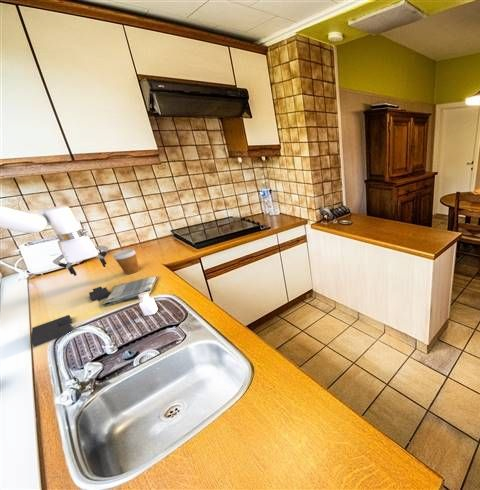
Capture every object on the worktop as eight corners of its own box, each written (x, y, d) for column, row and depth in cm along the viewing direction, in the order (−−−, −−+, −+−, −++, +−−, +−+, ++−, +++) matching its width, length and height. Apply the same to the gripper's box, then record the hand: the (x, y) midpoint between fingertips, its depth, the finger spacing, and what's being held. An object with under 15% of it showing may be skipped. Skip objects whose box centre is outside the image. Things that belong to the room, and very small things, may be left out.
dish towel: (115, 288, 132) (113, 282, 131) (158, 278, 140) (156, 273, 138) (102, 308, 117) (99, 302, 116) (151, 296, 124) (148, 290, 123)
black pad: (93, 302, 121) (90, 297, 120) (91, 295, 127) (88, 290, 126) (110, 296, 125) (107, 291, 124) (107, 290, 131) (105, 285, 130)
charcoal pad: (74, 333, 102) (70, 327, 101) (35, 348, 96) (30, 342, 94) (72, 320, 110) (69, 314, 109) (36, 333, 103) (32, 327, 102)
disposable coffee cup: (140, 266, 155) (132, 247, 150) (145, 270, 149) (136, 251, 144) (119, 272, 148) (110, 253, 143) (123, 277, 142) (114, 257, 138)
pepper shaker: (143, 316, 110) (134, 297, 106) (148, 311, 114) (139, 292, 110) (154, 314, 111) (146, 295, 107) (159, 309, 114) (150, 290, 111)
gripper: (97, 227, 121) (114, 260, 128) (41, 240, 109) (62, 275, 116) (99, 231, 116) (116, 265, 123) (40, 244, 104) (63, 281, 111)
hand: (90, 270), depth 119 cm, fingers open, 9 cm apart
